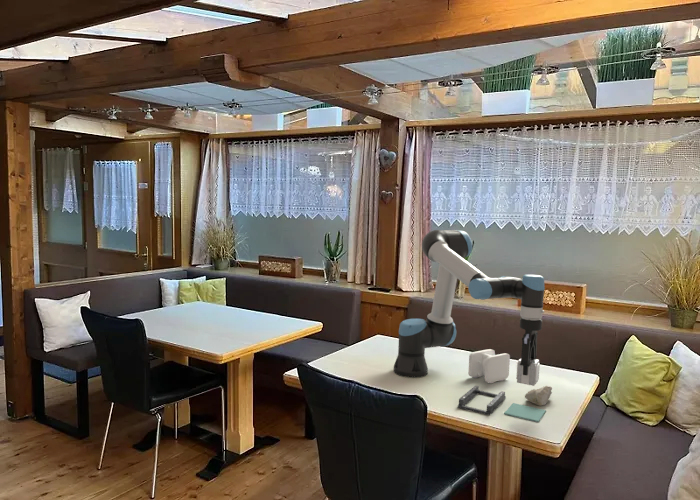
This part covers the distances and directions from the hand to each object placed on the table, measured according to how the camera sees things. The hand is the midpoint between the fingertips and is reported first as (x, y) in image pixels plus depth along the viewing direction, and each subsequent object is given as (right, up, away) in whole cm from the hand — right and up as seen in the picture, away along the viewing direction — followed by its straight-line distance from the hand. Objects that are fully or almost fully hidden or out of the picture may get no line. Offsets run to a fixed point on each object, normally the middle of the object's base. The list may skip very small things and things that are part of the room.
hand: (527, 380), depth 191 cm
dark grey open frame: (-14, -11, +9) cm, 20 cm away
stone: (+9, -12, +13) cm, 20 cm away
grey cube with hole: (0, 0, 0) cm, 0 cm away
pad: (0, -12, +1) cm, 12 cm away
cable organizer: (-4, -9, +39) cm, 40 cm away
